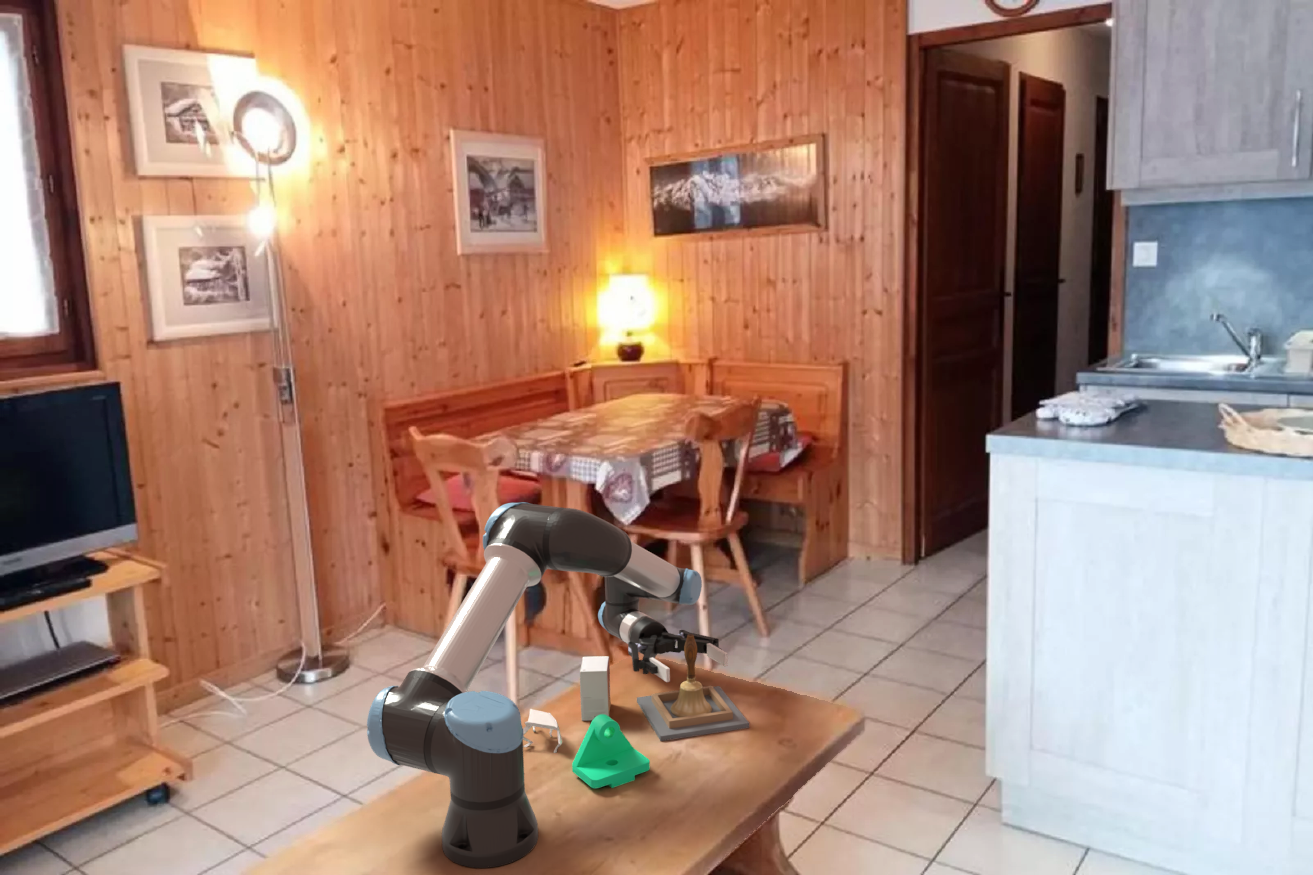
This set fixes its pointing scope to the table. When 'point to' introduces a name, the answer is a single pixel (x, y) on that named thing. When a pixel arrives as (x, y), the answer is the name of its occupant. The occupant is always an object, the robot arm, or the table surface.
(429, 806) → the table surface
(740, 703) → the table surface
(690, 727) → the bell board
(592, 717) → the small box
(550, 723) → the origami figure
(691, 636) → the hand bell
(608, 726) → the camera mount
